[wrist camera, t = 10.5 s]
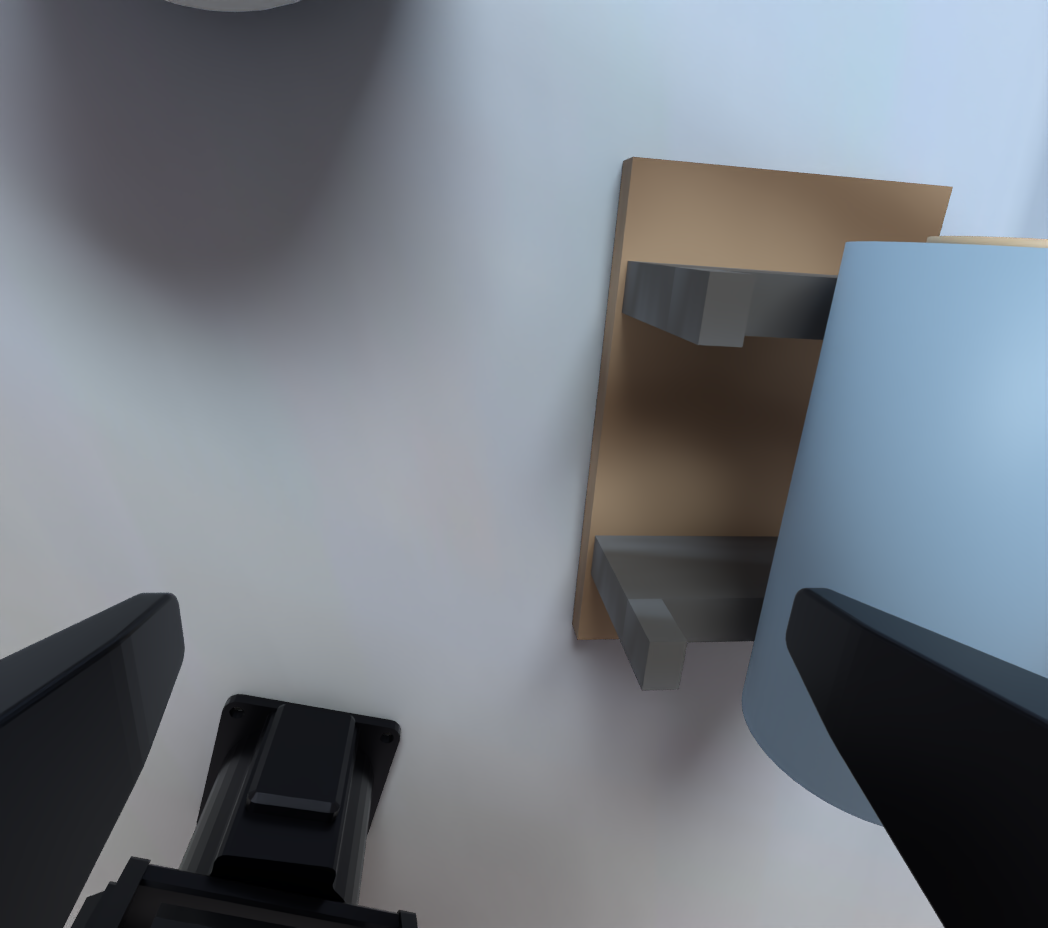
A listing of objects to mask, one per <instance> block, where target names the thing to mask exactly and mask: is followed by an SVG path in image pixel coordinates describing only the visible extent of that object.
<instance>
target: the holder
mask: <svg viewBox="0 0 1048 928" xmlns="http://www.w3.org/2000/svg"><path fill="white" fill-rule="evenodd" d="M952 188H953V187H948V186H937V185H926V184H916V183H905V182H895V181H884V180H873V179H863V178H852V177H841V176H831V175H820V174H810V173H799V172H788V171H778V170H767V169H756V168H746V167H735V166H725V165H714V164H703V163H693V162H682V161H671V160H661V159H650V158H640V157H632V158H629V159H627V160H624V161H623V168H622V177H621V186H620V196H619V205H618V214H617V223H616V232H615V241H614V250H613V259H612V268H611V277H610V286H609V295H608V304H607V313H606V322H605V331H604V340H603V349H602V358H601V368H600V377H599V386H598V395H597V404H596V413H595V422H594V431H593V440H592V449H591V458H590V467H589V476H588V485H587V494H586V503H585V512H584V521H583V530H582V540H581V549H580V558H579V567H578V576H577V585H576V594H575V603H574V612H573V621H572V625H573V628H574V631H575V634H576V637H577V640H592V639H620V641H621V644H622V646H623V648H624V651H625V653H626V655H627V657H628V660H629V662H630V664H631V666H632V669H633V671H634V673H635V676H636V678H637V680H638V682H639V685H640V687H641V689H642V690H674V689H679V685H680V679H681V674H682V669H683V663H684V658H685V652H686V647H687V642H726V641H754V640H755V636H756V632H757V627H758V623H759V618H760V614H761V610H762V605H763V601H764V597H765V592H766V588H767V584H768V579H769V575H770V570H771V566H772V562H773V557H774V553H775V549H776V544H777V540H778V536H779V531H780V527H781V523H782V518H783V514H784V509H785V505H786V501H787V496H788V492H789V488H790V483H791V479H792V475H793V470H794V466H795V461H796V457H797V453H798V448H799V444H800V440H801V435H802V431H803V427H804V422H805V418H806V413H807V409H808V405H809V400H810V396H811V392H812V387H813V383H814V379H815V374H816V370H817V365H818V361H819V357H820V352H821V348H822V344H823V339H824V335H825V331H826V326H827V322H828V317H829V313H830V309H831V304H832V300H833V296H834V291H835V287H836V283H837V278H838V274H839V270H840V265H841V261H842V256H843V252H844V248H845V243H846V242H856V241H880V242H920V243H926V241H927V238H928V237H931V236H939V235H940V231H941V228H942V224H943V221H944V217H945V213H946V210H947V206H948V203H949V199H950V195H951V192H952Z"/></svg>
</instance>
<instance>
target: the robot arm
mask: <svg viewBox="0 0 1048 928" xmlns="http://www.w3.org/2000/svg"><path fill="white" fill-rule="evenodd" d="M785 639H786V645H787V649H788V652H789V654H790V656H791V658H792V660H793V662H794V664H795V666H796V668H797V670H798V672H799V674H800V677H801V679H802V681H803V683H804V685H805V687H806V689H807V691H808V693H809V695H810V697H811V700H812V702H813V704H814V706H815V708H816V710H817V712H818V714H819V716H820V718H821V720H822V722H823V724H824V726H825V728H826V730H827V732H828V734H829V736H830V738H831V740H832V741H833V743H834V745H835V747H836V748H837V750H838V752H839V754H840V755H841V757H842V759H843V760H844V762H845V764H846V765H847V767H848V769H849V770H850V772H851V774H852V775H853V777H854V779H855V780H856V782H857V783H858V785H859V787H860V788H861V790H862V792H863V793H864V795H865V797H866V798H867V800H868V802H869V803H870V805H871V807H872V808H873V810H874V812H875V813H876V815H877V817H878V818H879V820H880V822H881V823H882V825H883V827H884V828H885V830H886V832H887V833H888V835H889V837H890V838H891V840H892V842H893V843H894V845H895V846H896V848H897V850H898V851H899V853H900V855H901V856H902V858H903V860H904V861H905V863H906V865H907V866H908V868H909V870H910V871H911V873H912V875H913V876H914V878H915V880H916V881H917V883H918V885H919V886H920V888H921V890H922V891H923V893H924V895H925V896H926V898H927V900H928V901H929V903H930V904H931V906H932V908H933V909H934V911H935V913H936V914H937V916H938V918H939V919H940V921H941V923H942V924H943V926H944V928H1048V678H1046V677H1043V676H1041V675H1038V674H1036V673H1033V672H1031V671H1028V670H1026V669H1024V668H1021V667H1019V666H1016V665H1014V664H1011V663H1009V662H1006V661H1004V660H1002V659H999V658H997V657H994V656H992V655H989V654H987V653H984V652H982V651H980V650H977V649H975V648H972V647H970V646H967V645H965V644H962V643H960V642H958V641H955V640H953V639H950V638H948V637H945V636H943V635H941V634H938V633H936V632H933V631H931V630H928V629H926V628H923V627H921V626H919V625H916V624H914V623H911V622H909V621H906V620H904V619H901V618H899V617H897V616H894V615H892V614H889V613H887V612H884V611H882V610H879V609H877V608H875V607H872V606H870V605H867V604H865V603H862V602H860V601H858V600H855V599H853V598H850V597H848V596H845V595H843V594H840V593H838V592H836V591H833V590H831V589H828V588H802V589H800V590H799V591H798V592H797V593H796V595H795V598H794V601H793V605H792V609H791V613H790V617H789V621H788V625H787V629H786V637H785ZM184 651H185V645H184V637H183V630H182V623H181V616H180V609H179V603H178V600H177V598H176V596H175V595H173V594H172V593H140V594H138V595H136V596H133V597H131V598H129V599H127V600H125V601H123V602H121V603H119V604H117V605H114V606H112V607H110V608H108V609H106V610H104V611H102V612H100V613H98V614H96V615H93V616H91V617H89V618H87V619H85V620H83V621H81V622H79V623H77V624H74V625H72V626H70V627H68V628H66V629H64V630H62V631H60V632H58V633H55V634H53V635H51V636H49V637H47V638H45V639H43V640H41V641H39V642H37V643H34V644H32V645H30V646H28V647H26V648H24V649H22V650H20V651H18V652H15V653H13V654H11V655H9V656H7V657H5V658H3V659H1V660H0V928H63V927H64V925H65V923H66V921H67V919H68V917H69V915H70V913H71V911H72V909H73V907H74V905H75V903H76V901H77V899H78V897H79V895H80V893H81V891H82V889H83V887H84V885H85V883H86V881H87V879H88V877H89V875H90V873H91V871H92V869H93V867H94V865H95V863H96V861H97V859H98V857H99V855H100V853H101V851H102V849H103V847H104V845H105V843H106V841H107V839H108V837H109V835H110V833H111V831H112V830H113V828H114V826H115V824H116V822H117V820H118V818H119V816H120V814H121V812H122V810H123V808H124V806H125V804H126V802H127V800H128V798H129V796H130V794H131V792H132V790H133V788H134V786H135V784H136V781H137V779H138V777H139V775H140V773H141V771H142V769H143V767H144V764H145V762H146V759H147V757H148V754H149V752H150V749H151V746H152V744H153V741H154V738H155V736H156V733H157V730H158V727H159V725H160V722H161V719H162V717H163V714H164V711H165V708H166V706H167V703H168V700H169V698H170V695H171V692H172V690H173V687H174V684H175V681H176V679H177V676H178V673H179V671H180V668H181V665H182V662H183V658H184ZM234 707H239V708H241V709H242V710H243V711H238V710H236V709H235V708H234ZM400 730H401V728H400V726H399V724H398V723H396V722H395V721H392V720H387V719H381V718H375V717H370V716H364V715H358V714H352V713H347V712H341V711H335V710H330V709H324V708H318V707H312V706H307V705H301V704H295V703H289V702H284V701H278V700H272V699H266V698H261V697H255V696H249V695H243V694H236V695H233V696H231V697H230V698H229V699H228V700H227V702H226V704H225V706H224V708H223V710H222V715H221V719H220V723H219V728H218V732H217V736H216V741H215V745H214V750H213V754H212V758H211V763H210V767H209V771H208V776H207V780H206V784H205V789H204V793H203V797H202V802H201V806H200V811H199V815H198V819H197V826H196V829H195V831H194V833H193V836H192V838H191V841H190V843H189V845H188V848H187V850H186V853H185V855H184V857H183V860H182V862H181V865H180V867H179V869H173V868H168V867H163V866H158V865H153V864H149V863H150V860H148V859H143V858H138V857H133V856H131V858H130V859H129V861H128V863H127V865H126V867H125V869H124V870H123V872H122V874H121V876H120V878H119V880H118V881H117V883H116V882H111V881H110V882H109V884H108V886H107V887H106V889H105V891H103V892H100V893H98V894H95V895H92V896H89V897H87V898H86V900H85V902H84V904H83V906H82V908H81V910H80V911H79V913H78V915H77V917H76V919H75V921H74V923H73V924H72V926H71V928H418V926H417V918H416V913H412V912H407V911H402V910H399V911H398V912H397V913H394V912H389V911H384V910H379V909H374V908H369V907H364V906H359V905H358V902H359V894H360V886H361V878H362V870H363V862H364V854H365V846H366V838H367V834H368V832H369V829H370V826H371V823H372V820H373V817H374V814H375V811H376V808H377V805H378V802H379V799H380V796H381V793H382V791H383V788H384V785H385V782H386V779H387V776H388V773H389V770H390V767H391V764H392V761H393V758H394V755H395V752H396V749H397V747H398V744H399V741H400ZM384 733H390V734H391V735H384Z"/></svg>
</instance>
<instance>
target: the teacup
mask: <svg viewBox="0 0 1048 928" xmlns="http://www.w3.org/2000/svg"><path fill="white" fill-rule="evenodd" d="M165 1H168V2H171V3H174V4H178V5H183V6H187V7H192V8H197V9H202V10H211V11H223V12H245V11H260V10H267V9H271V8H275V7H280V6H284V5H288V4H292V3H296V2H299V1H301V0H165Z"/></svg>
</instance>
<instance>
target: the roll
mask: <svg viewBox="0 0 1048 928" xmlns="http://www.w3.org/2000/svg"><path fill="white" fill-rule="evenodd" d="M802 588H828V589H831V590H833V591H836V592H838V593H840V594H843V595H845V596H848V597H850V598H853V599H855V600H858V601H860V602H862V603H865V604H867V605H870V606H872V607H875V608H877V609H879V610H882V611H884V612H887V613H889V614H892V615H894V616H897V617H899V618H901V619H904V620H906V621H909V622H911V623H914V624H916V625H919V626H921V627H923V628H926V629H928V630H931V631H933V632H936V633H938V634H941V635H943V636H945V637H948V638H950V639H953V640H955V641H958V642H960V643H962V644H965V645H967V646H970V647H972V648H975V649H977V650H980V651H982V652H984V653H987V654H989V655H992V656H994V657H997V658H999V659H1002V660H1004V661H1006V662H1009V663H1011V664H1014V665H1016V666H1019V667H1021V668H1024V669H1026V670H1028V671H1031V672H1033V673H1036V674H1038V675H1041V676H1043V677H1046V678H1048V239H1033V238H1010V237H981V236H931V237H928V238H927V241H926V243H920V242H880V241H856V242H846V243H845V248H844V252H843V256H842V261H841V265H840V270H839V274H838V278H837V283H836V287H835V291H834V296H833V300H832V304H831V309H830V313H829V317H828V322H827V326H826V331H825V335H824V339H823V344H822V348H821V352H820V357H819V361H818V365H817V370H816V374H815V379H814V383H813V387H812V392H811V396H810V400H809V405H808V409H807V413H806V418H805V422H804V427H803V431H802V435H801V440H800V444H799V448H798V453H797V457H796V461H795V466H794V470H793V475H792V479H791V483H790V488H789V492H788V496H787V501H786V505H785V509H784V514H783V518H782V523H781V527H780V531H779V536H778V540H777V544H776V549H775V553H774V557H773V562H772V566H771V570H770V575H769V579H768V584H767V588H766V592H765V597H764V601H763V605H762V610H761V614H760V618H759V623H758V627H757V632H756V636H755V640H754V645H753V649H752V653H751V658H750V662H749V666H748V671H747V675H746V680H745V684H744V688H743V693H742V710H743V714H744V718H745V721H746V723H747V725H748V728H749V730H750V732H751V734H752V735H753V737H754V738H755V740H756V741H757V743H758V744H759V746H760V747H761V748H762V749H763V751H764V752H765V753H766V754H767V756H768V757H769V758H770V759H771V760H772V761H773V762H774V763H775V764H776V765H777V766H778V767H779V768H780V769H781V770H782V771H784V772H785V773H786V774H787V775H788V776H789V777H791V778H792V779H793V780H794V781H796V782H797V783H798V784H800V785H801V786H802V787H804V788H805V789H807V790H808V791H809V792H811V793H813V794H814V795H816V796H817V797H819V798H821V799H822V800H824V801H825V802H827V803H829V804H831V805H833V806H835V807H837V808H839V809H841V810H842V811H844V812H847V813H849V814H851V815H854V816H856V817H858V818H860V819H863V820H865V821H868V822H871V823H874V824H877V825H880V826H883V825H882V823H881V822H880V820H879V818H878V817H877V815H876V813H875V812H874V810H873V808H872V807H871V805H870V803H869V802H868V800H867V798H866V797H865V795H864V793H863V792H862V790H861V788H860V787H859V785H858V783H857V782H856V780H855V779H854V777H853V775H852V774H851V772H850V770H849V769H848V767H847V765H846V764H845V762H844V760H843V759H842V757H841V755H840V754H839V752H838V750H837V748H836V747H835V745H834V743H833V741H832V740H831V738H830V736H829V734H828V732H827V730H826V728H825V726H824V724H823V722H822V720H821V718H820V716H819V714H818V712H817V710H816V708H815V706H814V704H813V702H812V700H811V697H810V695H809V693H808V691H807V689H806V687H805V685H804V683H803V681H802V679H801V677H800V674H799V672H798V670H797V668H796V666H795V664H794V662H793V660H792V658H791V656H790V654H789V652H788V649H787V645H786V639H785V637H786V629H787V625H788V621H789V617H790V613H791V609H792V605H793V601H794V598H795V595H796V593H797V592H798V591H799V590H800V589H802Z"/></svg>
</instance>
